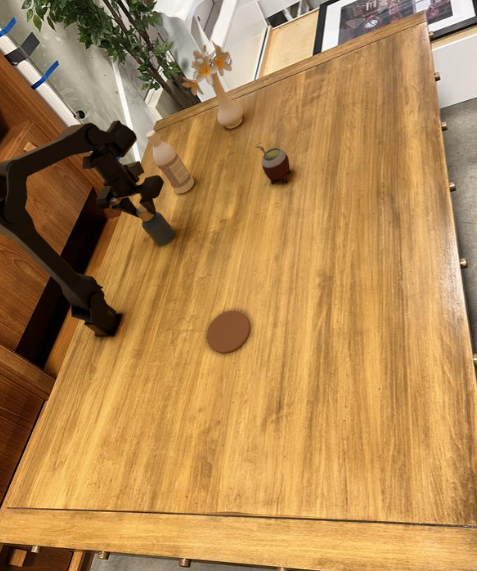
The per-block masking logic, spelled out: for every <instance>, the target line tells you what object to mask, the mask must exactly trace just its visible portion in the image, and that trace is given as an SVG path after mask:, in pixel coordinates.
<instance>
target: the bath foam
mask: <svg viewBox="0 0 477 571" xmlns="http://www.w3.org/2000/svg"><path fill="white" fill-rule="evenodd" d="M145 137H146V139H147V140H148V142H149V143H150V144H151V146H152V158H153V161H154V163H155V164H156V166H157V167H158V169H159V171H160V172H161V173H162V175H163V176H164V178H165V179H166V180H167V182H168V183H169V185H170V186H171V188H172V189H173V190H174V192H175V193H177V194H184V193H187V192H188V191H190V190H191V189H193V187H194V185H195V179H194V178H193V176H192V174H191V173H190V171H189V169H188V168H187V166H186V165H185V163H184V162H183V160H182V158H181V156H180V155H179V154H178V152H177V150H176V149H175V148H174V147H173V146H172V145H171V144H169V143H167V142H165V141H163V140H162V139H161V138H160V136H159V135H158V133H157V132H156V130H154V129H151V130H149V131H147V133H146V134H145Z"/></svg>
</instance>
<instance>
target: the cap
mask: <svg viewBox="0 0 477 571" xmlns="http://www.w3.org/2000/svg"><path fill="white" fill-rule="evenodd" d="M136 208H137V209H136V214H137V215H138V216H139V217H140V218H139V219H140V220H141V221H142V222H143V221H144V222H146V221H149V220H150V219H151V218H152V217H153V216H154V215H153V214H152V213H150V212H149V211H148V210H147V209H146V208H144V207H143V206H142V205H141V204H139V206H137V207H136Z"/></svg>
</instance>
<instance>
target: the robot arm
mask: <svg viewBox="0 0 477 571" xmlns="http://www.w3.org/2000/svg"><path fill="white" fill-rule="evenodd" d="M137 141H138V137H137V134H136V133H135V131H134V130H133V129H131V127H128V125H125V124H124V123H122V122H121V120H117V119H116V120H113V121H112V122H111V124H110V126H108V128H107V130H103V129H100V128H99V127H98V126H97V124H95V123H93V122H86V123H85V122H83V123H79V124H72V125H69V126H68V127H67V128H65V129H64V130H62V131H61V132H60V133H59V134H58V136H57V137H56V138H54V139H53V140H50V141H48V142H46V143H43V144H42V145H40V146H39V145H38V146H37V147H35V148H33V149H30V150H28V151H25V152H23V153H20V154H18V155H16V156H14V157H12V158H10V159H6V160H2V161H0V235H2V236H4V237H6V238H8V239H9V240H10V241H11V240H12V241H13V242H15V243H16V244H17V245H18V246H19V247H20V248H21V249H22V250H23V251H24V252H25V253H26V254H27V255H28V256H30V258H31V259H32V260H34V261H35V263H36V264H38V265H39V267H40V268H42V269H43V270H44V271H45V272H46V273H47V274H48V275H49V276H50V277H51V278H52V279H53V280H54V281H55V282H56V283H57V284H58V285H59V286H60V287H61V290H62V294H63V296H64V297H65V299H66V300H67V302H68V303H69V305H70V316H71V318H74V319H77V320H81V321H84V323H83V325H84V326H85V327H87V328H88V329H90V330H91V331H92V332H94V337H97V338H99V337H100V338H102V337H103V338H104V337H105V338H107V337H108V338H110V337H111V338H112V337H115V336H116V333H117V331H118V328H119V326H120V324H121V321H122V320H123V316H124V314H123V313H122V312H119V313H118V312H117V310H115V309H114V308H113V307H112V306H111V305H109V304H108V302H107V301H106V299H105V295H106V294H105V291H104V290H103V289H104V287H103V286H101V284H99V283H98V281H97V280H96V279H95V278H94V276H92V275H88V274H87V275H86V274H81V273H77V272H76V271H75V269H74V268H72V266H71V265H70V264H69V263H67V261H66V260H65V259H64V258H63V257H62V256H61V255H60V253H58V252H57V251H56V249H55V248H54V247H52V245H51V244H50V243H48V241H47V240H46V239H45V238H44V237H43V236H42V235H41V234H40V233H39V232H38V230H37V228H36V226H35V223H34V220H33V217H32V216H31V214H30V213H29V211H28V210H27V209H26V206H27V201H28V186H27V181H28V177H30V176H32V175H34V174H37V173H39V172H40V171H43V170H44V169H47V168H49V167H51V166H52V165H55V164H57V163H58V162H61V161H63V160H65V159H66V158H69V157H71V156H75V155H81V154H86V153H89V155H87V156H86V155H85V156H82V164H81V167H82V169H83V170H92V169H94V170H95V171H96V172H97V174H98V175H99V176H100V177H101V178H102V179H103V183H102V185H103V186H104V187H102V188H101V190H100V192H99V193H98V195H97V197H96V199H95V202H96V205H97V206H98V207H99V208H100V210H102V211H103V210H106V209H110V208H111V209H112V210H116V211H120V212H122V213H125V214H128V215H131V216H133V217H135V218H138V219H141V218H140V217H139V216H138V215H137V214H136V209H137V208H138V207H136V206H135V204H134V203H133V202H132V200H131V199H130V197H134V196H137V195H139V196H140V198H139V201H138V203H139V205H142V206H143V207H144V208H146V209H147V210H148V211H149V212H150V213H152V214H153V215H156V212H157V208H156V205H155V201H154V199H157V198H158V197H159V196H160V195H161V192H162V188H163V186H164V184H165V181H164V179H163V178H162V177H161V175H159V174H155V175H151V176H146V177H145V178H144V180H143V182H142V183H140V184H137V183H139V182H140V176H141V175H143V174H145V169H144V167H143V166H142V163H141V161H140V160H137V161H133V162H129V163H125V164H123V163H122V162H121V161H120V160H119V159H118V158H120V159H121V158H122V159H123V158H125V156H126V155H127V154H128V153H129V151H130V150H131V149H132V147H133V146H134V145H135V143H136V142H137Z"/></svg>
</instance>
